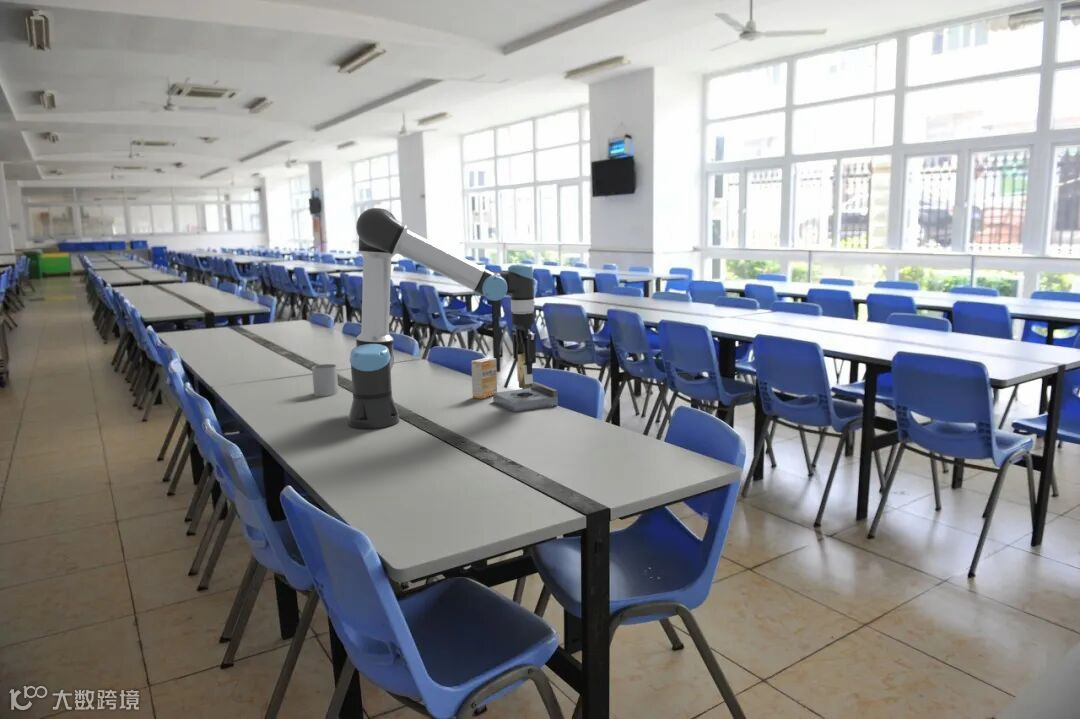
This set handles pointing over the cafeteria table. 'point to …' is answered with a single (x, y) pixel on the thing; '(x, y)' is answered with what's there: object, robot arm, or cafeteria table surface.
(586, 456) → the cafeteria table surface
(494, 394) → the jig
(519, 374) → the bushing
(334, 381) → the cup
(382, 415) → the robot arm
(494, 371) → the supplement box
